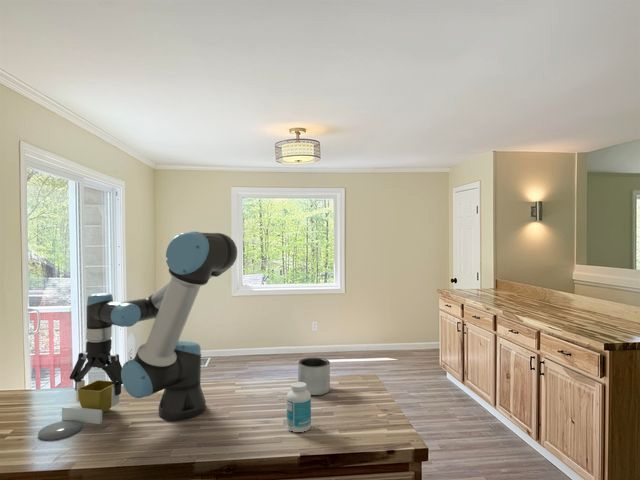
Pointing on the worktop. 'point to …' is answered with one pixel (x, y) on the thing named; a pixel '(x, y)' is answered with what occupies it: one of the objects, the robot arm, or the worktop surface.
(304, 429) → the pill bottle
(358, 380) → the worktop surface
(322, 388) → the planter
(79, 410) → the wall
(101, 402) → the flower pot
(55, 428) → the coaster
